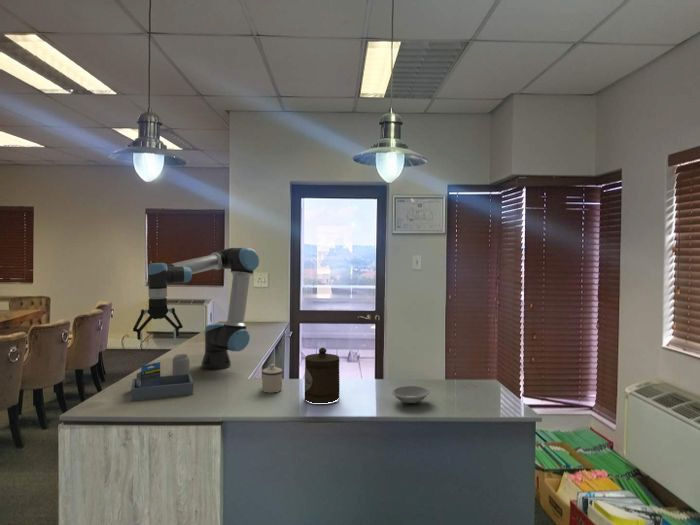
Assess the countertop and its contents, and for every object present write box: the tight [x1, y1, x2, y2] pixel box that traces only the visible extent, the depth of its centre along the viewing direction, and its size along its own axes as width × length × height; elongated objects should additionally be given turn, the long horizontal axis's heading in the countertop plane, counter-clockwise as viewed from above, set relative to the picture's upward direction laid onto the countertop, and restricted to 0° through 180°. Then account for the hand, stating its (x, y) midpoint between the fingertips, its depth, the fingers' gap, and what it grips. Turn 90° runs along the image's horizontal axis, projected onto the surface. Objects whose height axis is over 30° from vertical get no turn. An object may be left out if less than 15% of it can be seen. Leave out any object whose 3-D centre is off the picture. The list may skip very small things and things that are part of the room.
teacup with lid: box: [261, 363, 283, 393], centre depth 197 cm, size 12×9×12 cm
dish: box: [391, 385, 431, 404], centre depth 182 cm, size 18×14×5 cm
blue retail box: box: [136, 361, 161, 388], centre depth 188 cm, size 9×4×12 cm, turn 145°
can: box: [172, 353, 190, 375], centre depth 209 cm, size 8×8×12 cm
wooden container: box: [304, 347, 340, 403], centre depth 185 cm, size 15×15×22 cm
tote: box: [130, 373, 194, 402], centre depth 190 cm, size 24×16×5 cm, turn 115°
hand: (158, 345), depth 193 cm, fingers open, 13 cm apart
